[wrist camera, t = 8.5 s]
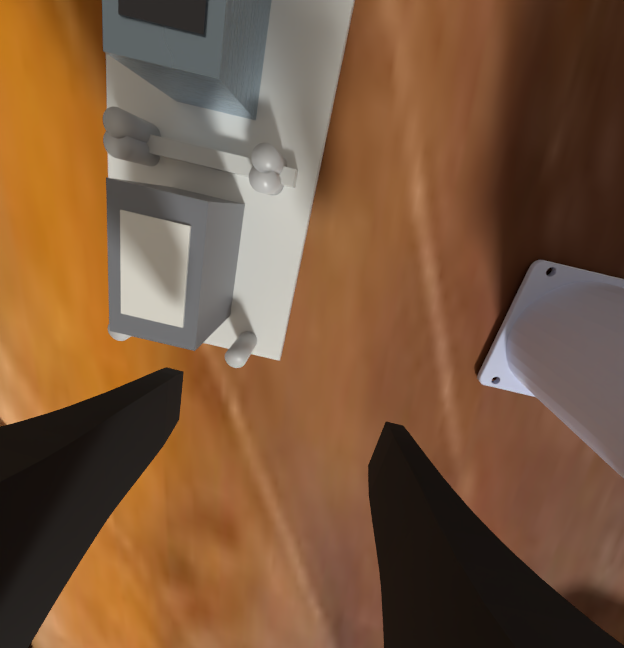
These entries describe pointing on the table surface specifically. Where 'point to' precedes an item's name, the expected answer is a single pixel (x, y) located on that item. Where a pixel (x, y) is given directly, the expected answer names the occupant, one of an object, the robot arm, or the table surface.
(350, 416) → the table surface
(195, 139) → the grey fixture plate
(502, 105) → the table surface
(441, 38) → the table surface
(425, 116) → the table surface
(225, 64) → the block
